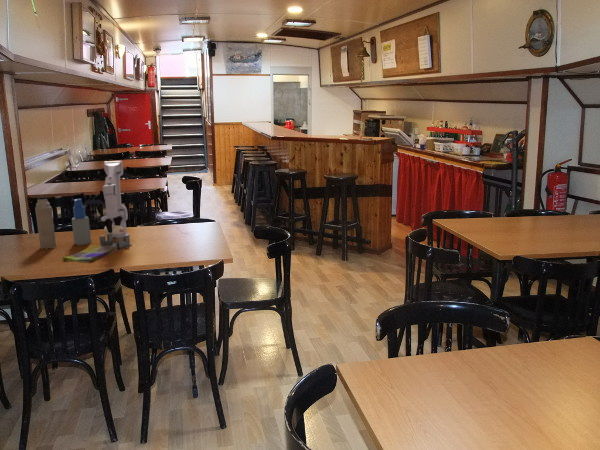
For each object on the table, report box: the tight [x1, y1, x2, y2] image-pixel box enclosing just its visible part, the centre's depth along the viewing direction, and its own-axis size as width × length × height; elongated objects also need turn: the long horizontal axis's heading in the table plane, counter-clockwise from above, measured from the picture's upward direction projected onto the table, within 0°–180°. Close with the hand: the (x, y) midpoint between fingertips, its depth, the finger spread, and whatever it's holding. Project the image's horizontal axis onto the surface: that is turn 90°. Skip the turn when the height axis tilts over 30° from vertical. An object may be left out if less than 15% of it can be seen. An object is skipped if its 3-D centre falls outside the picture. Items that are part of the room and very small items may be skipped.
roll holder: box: [99, 234, 133, 251], centre depth 306 cm, size 15×10×6 cm, turn 64°
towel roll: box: [103, 225, 124, 235], centre depth 304 cm, size 13×5×5 cm, turn 65°
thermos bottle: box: [34, 196, 57, 250], centre depth 305 cm, size 8×8×28 cm
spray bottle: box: [71, 198, 92, 246], centre depth 313 cm, size 9×9×25 cm
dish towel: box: [62, 244, 118, 264], centre depth 290 cm, size 18×24×3 cm
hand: (113, 231), depth 305 cm, fingers closed on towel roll, 5 cm apart
